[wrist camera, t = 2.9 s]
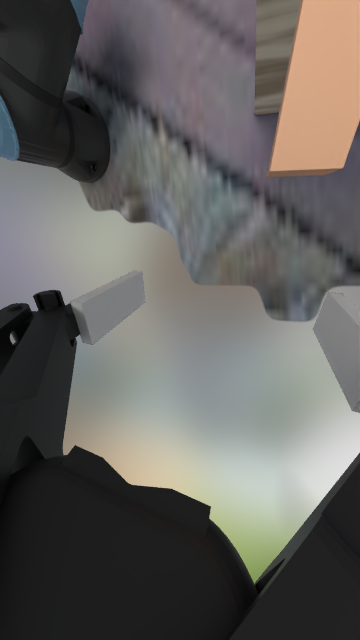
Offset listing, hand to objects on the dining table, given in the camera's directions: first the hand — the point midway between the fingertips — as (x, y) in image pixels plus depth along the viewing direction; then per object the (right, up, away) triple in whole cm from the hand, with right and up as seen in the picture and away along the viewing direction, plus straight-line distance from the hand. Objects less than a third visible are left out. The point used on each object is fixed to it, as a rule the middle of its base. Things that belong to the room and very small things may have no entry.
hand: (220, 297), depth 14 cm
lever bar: (+6, +22, -8) cm, 24 cm away
